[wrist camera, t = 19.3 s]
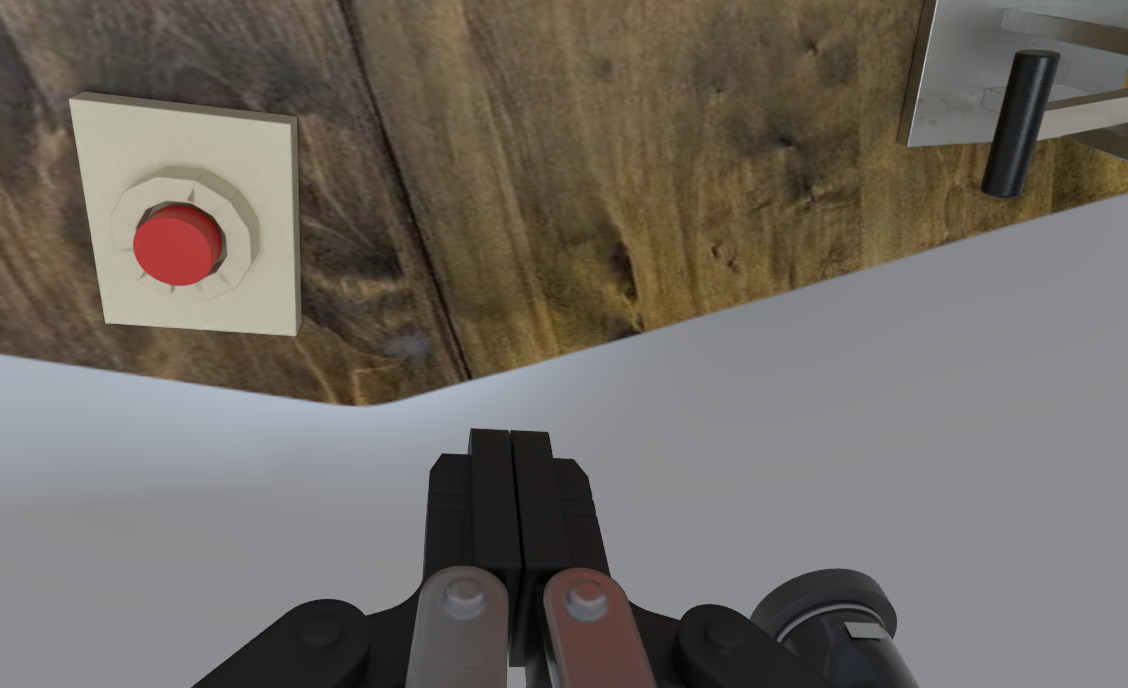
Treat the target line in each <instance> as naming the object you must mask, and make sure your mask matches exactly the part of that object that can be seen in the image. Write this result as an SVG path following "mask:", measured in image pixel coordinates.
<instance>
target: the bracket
mask: <svg viewBox="0 0 1128 688" xmlns="http://www.w3.org/2000/svg"><path fill="white" fill-rule="evenodd" d="M1020 50H1048V51H1054V52H1057V53H1060V55H1061V57H1060V60H1059V64H1058V67H1057V71H1056V74H1055V78H1054V81H1053V85H1052V88H1051V92H1050V95H1049V99H1048V102H1051V101H1057V100H1063V99H1068V98H1074V97H1080V96H1086V95H1091V94H1097V93H1103V92H1108V91H1114V90H1120V89H1121V88H1122V85H1123V82H1124V79H1125V76H1126V73H1127V70H1128V0H924V4H923V10H922V15H921V20H920V25H919V30H918V35H917V41H916V46H915V51H914V56H913V61H912V66H911V72H910V77H909V82H908V87H907V92H906V97H905V103H904V108H903V113H902V118H901V123H900V128H899V134H898V139H897V142H899V143H901V144H903V145H905V146H907V147H916V146H932V145H949V144H965V143H981V142H992V141H993V137H994V133H995V129H996V125H997V122H998V118H999V114H1000V110H1001V106H1002V102H1003V98H1004V94H1005V90H1006V86H1007V83H1008V79H1009V75H1010V71H1011V67H1012V63H1013V59H1014V55H1015V53H1016V52H1017V51H1020ZM1062 137H1064V138H1067V139H1070V140H1072V141H1075V142H1078V143H1080V144H1083V145H1086V146H1088V147H1091V148H1094V149H1096V150H1099V151H1102V152H1105V153H1107V154H1110V155H1113V156H1115V157H1118V158H1121V159H1123V160H1126V161H1128V123H1123V124H1118V125H1113V126H1108V127H1103V128H1098V129H1093V130H1088V131H1083V132H1078V133H1073V134H1068V135H1063V136H1058V137H1053V138H1062Z"/></svg>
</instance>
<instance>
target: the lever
mask: <svg viewBox="0 0 1128 688" xmlns="http://www.w3.org/2000/svg"><path fill="white" fill-rule="evenodd" d="M1060 57H1061V55H1060V53H1057V52H1054V51H1048V50H1020V51H1017V52H1016V53H1015V55H1014V59H1013V63H1012V67H1011V71H1010V75H1009V79H1008V83H1007V86H1006V90H1005V94H1004V98H1003V102H1002V106H1001V110H1000V114H999V118H998V122H997V125H996V129H995V133H994V137H993V141H992V145H991V149H990V153H989V157H988V160H987V164H986V168H985V172H984V176H983V180H982V184H981V191H982V192H983V193H985V194H987V195H990V196H995V197H1002V198H1012V197H1018V196H1020V195H1021V193H1022V190H1023V186H1024V183H1025V179H1026V176H1027V172H1028V169H1029V165H1030V162H1031V158H1032V155H1033V151H1034V148H1035V144H1036V141H1038V140H1043V139H1048V138H1053V137H1058V136H1063V135H1068V134H1073V133H1078V132H1083V131H1088V130H1093V129H1098V128H1103V127H1108V126H1113V125H1118V124H1123V123H1128V88H1126V89H1120V90H1114V91H1108V92H1103V93H1097V94H1091V95H1086V96H1080V97H1074V98H1068V99H1063V100H1057V101H1051V102H1048V99H1049V95H1050V92H1051V88H1052V85H1053V81H1054V78H1055V74H1056V71H1057V67H1058V64H1059V60H1060Z"/></svg>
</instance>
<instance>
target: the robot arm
mask: <svg viewBox="0 0 1128 688" xmlns="http://www.w3.org/2000/svg"><path fill="white" fill-rule="evenodd" d="M427 503H428V504H427V515H426V529H425V545H424V562H423V580H422V582H421V584H420V586H419V588H418V589H417V590H416V592H415V593H414V594H413V595H412V596H411V597H410V598H409V599H408V600H406V601H405V602H403V603H402V604H400V605H398V606H395V607H393V608H391V609H388V610H385V611H381V612H378V613H374V614H371V615H366V616H365V615H364V614H363V613H362V611H360V610H359V609H358V608H357V607H355V606H353V605H352V604H350V603H347V602H344V601H341V600H335V599H320V600H314V601H309V602H307V603H304V604H301V605H299V606H297V607H295V608H293V609H292V610H290V611H289V612H287V613H286V614H284V615H283V616H282V617H281V618H279V619H278V620H277V621H276V622H274V623H273V624H272V625H270V626H269V627H268V628H267V629H265V630H264V631H263V632H261V633H260V634H259V635H258V636H256V637H255V638H254V639H252V640H251V641H250V642H249V643H247V644H246V645H245V646H244V647H242V648H241V649H240V650H238V651H237V652H236V653H235V654H233V655H232V656H231V657H230V658H228V659H227V660H226V661H224V662H223V663H222V664H220V665H219V666H218V667H217V668H215V669H214V670H213V671H212V672H210V673H209V674H208V675H206V676H205V677H204V678H203V679H201V680H200V681H199V682H197V683H196V684H195V685H194V686H193V687H191V688H507V653H508V657H509V667H525V675H526V688H920V686H919V684H918V683H917V681H916V679H915V678H914V676H913V674H912V673H911V671H910V669H909V667H908V666H907V664H906V663H905V661H904V659H903V657H902V655H901V654H900V652H899V650H898V649H897V647H896V645H895V644H894V642H893V640H892V639H891V637H890V635H889V633H888V632H887V630H886V628H885V625H884V623H883V621H882V619H881V618H880V616H879V614H878V613H877V612H876V611H875V610H874V609H873V608H872V607H870V606H868V605H866V604H864V603H861V602H856V601H848V600H840V601H831V602H826V603H822V604H819V605H816V606H813V607H811V608H808V609H806V610H804V611H802V612H800V613H799V614H797V615H796V616H794V617H793V618H791V619H790V620H789V621H788V622H787V623H785V624H784V625H783V626H782V628H781V629H780V630H779V631H778V633H777V634H776V636H775V637H774V638H773V637H771V636H770V635H769V634H767V633H766V632H765V631H763V630H762V629H761V628H759V627H758V626H757V625H756V624H754V623H753V622H752V621H750V620H749V619H748V618H746V617H745V616H743V615H742V614H740V613H739V612H737V611H734V610H733V609H730V608H728V607H725V606H720V605H714V604H705V605H700V606H696V607H693V608H691V609H690V610H688V611H687V612H686V613H685V614H684V615H683V617H682V618H681V620H677V619H674V618H670V617H667V616H664V615H660V614H657V613H653V612H650V611H647V610H645V609H643V608H641V607H638V606H637V605H635V604H633V603H632V602H630V601H629V600H628V598H627V596H626V594H625V592H624V590H623V589H622V587H621V586H620V585H619V584H618V583H617V582H616V581H615V580H614V579H612V578H611V575H610V572H609V567H608V563H607V558H606V554H605V550H604V545H603V541H602V536H601V533H600V528H599V523H598V519H597V516H596V510H595V506H594V501H593V500H592V492H591V488H590V484H589V479H588V476H587V475H586V474H585V472H584V471H583V470H582V469H581V468H580V466H579V465H578V464H577V463H576V461H575V460H574V459H560V458H553V455H552V449H551V443H550V438H549V434H548V432H538V431H537V432H535V431H517V430H511V431H510V434H509V431H508V430H494V429H473V428H471V430H470V436H469V445H468V455H465V454H442V455H441V456H440V457H439V459H438V460H437V462H436V463H435V464H434V466H433V467H432V469H431V470H430V477H429V490H428V502H427Z"/></svg>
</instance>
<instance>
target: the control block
mask: <svg viewBox="0 0 1128 688" xmlns="http://www.w3.org/2000/svg"><path fill="white" fill-rule="evenodd" d="M69 103H70V109H71V115H72V121H73V127H74V133H75V139H76V146H77V152H78V158H79V164H80V170H81V176H82V182H83V189H84V195H85V201H86V207H87V213H88V219H89V226H90V232H91V238H92V244H93V250H94V256H95V262H96V269H97V275H98V281H99V287H100V293H101V299H102V305H103V312H104V318H105V323H112V324H126V325H141V326H156V327H170V328H185V329H200V330H214V331H229V332H244V333H258V334H273V335H287V336H296V335H297V333H298V330H299V327H300V325H301V322H302V320H301V275H300V230H299V184H298V139H297V117H295V116H288V115H280V114H271V113H263V112H254V111H246V110H237V109H229V108H220V107H211V106H203V105H194V104H186V103H177V102H169V101H160V100H152V99H143V98H135V97H126V96H118V95H109V94H100V93H92V92H83V93H80V94H78V95H76V96H74V97H72V98H70V99H69ZM174 205H179V206H186V207H190V208H193V209H195V210H198V211H199V212H201V213H203V214H204V215H206V216H207V217H208V218H209V219H210V220H211V221H212V222H213V223H214V224H215V226H216V227H217V229H218V231H219V233H220V236H221V240H222V251H221V254H220V257H219V259H218V260H217V262H216V263H215V264H214V266H213V267H212V269H211V270H210V272H209V273H208V274H207V276H206V277H204V278H203V279H202V280H201V281H199V282H197V283H194V284H191V285H186V286H175V285H169V284H166V283H163V282H160V281H158V280H156V279H155V278H153V277H152V276H150V275H149V274H148V273H147V272H145V271H144V269H143V268H142V267H141V266H140V264H139V263H138V261H137V259H136V257H135V254H134V250H133V239H134V236H135V233H136V231H137V230H138V228H139V227H140V226H141V225H142V224H143V223H144V222H145V221H146V220H147V219H148V218H149V217H150V216H151V215H152V214H153V213H155V212H156V211H157V210H159V209H161V208H164V207H167V206H174Z"/></svg>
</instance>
